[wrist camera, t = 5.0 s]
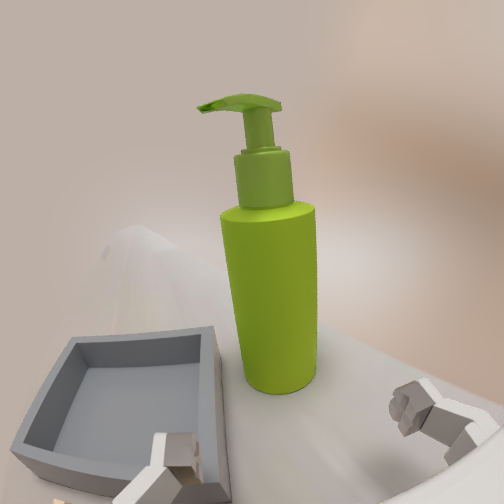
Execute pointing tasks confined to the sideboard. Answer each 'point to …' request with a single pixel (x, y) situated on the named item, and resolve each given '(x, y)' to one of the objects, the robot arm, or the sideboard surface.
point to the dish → (128, 412)
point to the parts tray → (59, 502)
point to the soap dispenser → (270, 256)
